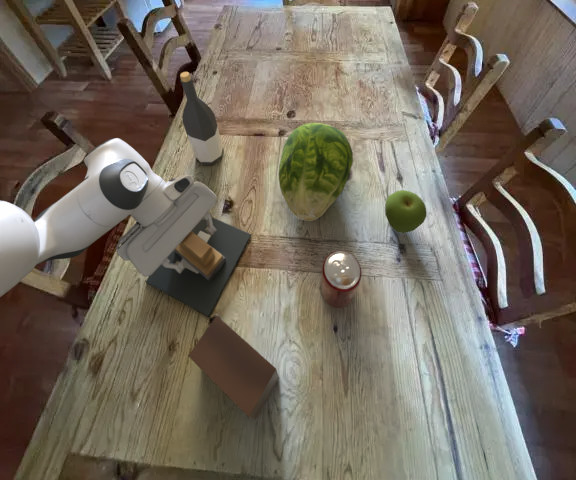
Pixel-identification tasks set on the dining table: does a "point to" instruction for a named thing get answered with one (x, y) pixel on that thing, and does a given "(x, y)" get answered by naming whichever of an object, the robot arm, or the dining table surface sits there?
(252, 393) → the walnut block
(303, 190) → the lettuce
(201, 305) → the slate board
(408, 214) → the apple
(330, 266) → the soda can
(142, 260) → the robot arm
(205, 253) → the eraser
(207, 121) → the wine bottle
